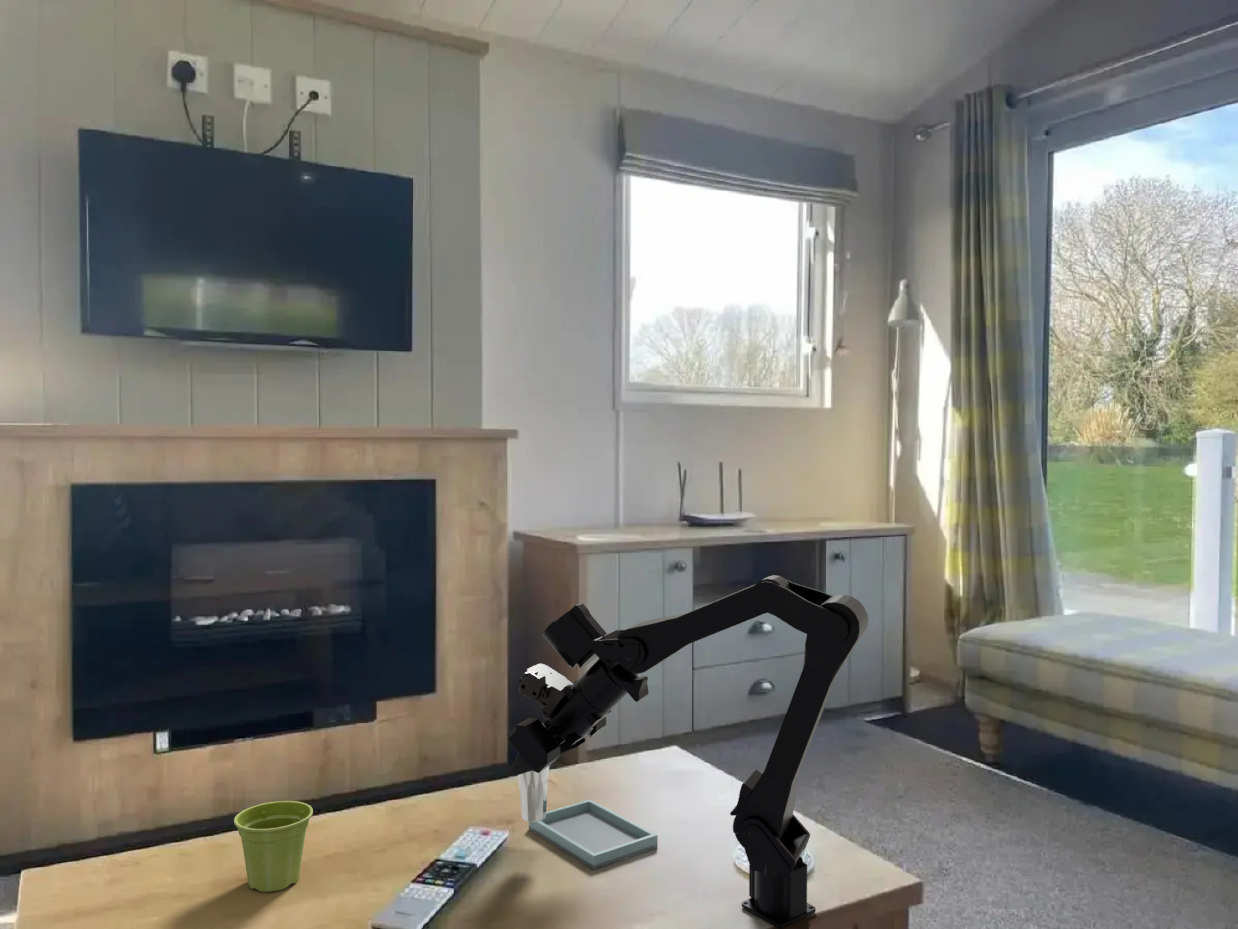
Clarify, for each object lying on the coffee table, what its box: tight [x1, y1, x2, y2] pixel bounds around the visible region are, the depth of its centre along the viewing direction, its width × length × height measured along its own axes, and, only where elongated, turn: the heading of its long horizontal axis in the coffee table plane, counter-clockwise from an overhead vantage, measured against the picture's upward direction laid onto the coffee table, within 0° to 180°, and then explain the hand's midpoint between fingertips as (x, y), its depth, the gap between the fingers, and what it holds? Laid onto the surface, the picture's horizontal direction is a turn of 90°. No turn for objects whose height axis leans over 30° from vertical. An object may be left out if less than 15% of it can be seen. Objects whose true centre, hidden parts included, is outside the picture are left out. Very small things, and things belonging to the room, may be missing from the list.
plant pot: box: [233, 800, 314, 893], centre depth 117 cm, size 9×9×9 cm
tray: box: [528, 799, 659, 870], centre depth 131 cm, size 16×11×2 cm
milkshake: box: [517, 766, 550, 823], centre depth 124 cm, size 4×5×10 cm
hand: (521, 767), depth 125 cm, fingers closed on milkshake, 4 cm apart
